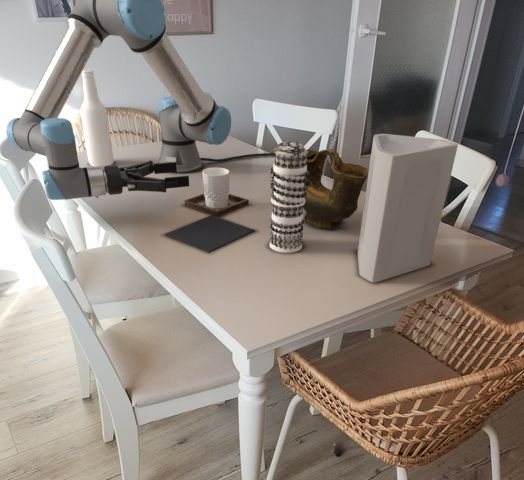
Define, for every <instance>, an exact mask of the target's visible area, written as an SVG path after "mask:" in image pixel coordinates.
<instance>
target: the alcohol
mask: <svg viewBox="0 0 524 480" xmlns="http://www.w3.org/2000/svg"><path fill="white" fill-rule="evenodd" d="M94 72H95V71H94V70H93V69H91V68H90V69H88V68H87V69H85V68H84V69H83V71H82V73H81V78H82V89H83V102H82V103H81V105H80V111H79V113H80V120H81V125H82V126H81V127H82V132H83V136H84V143H85V148H86V155H87V160H88V164H89V165H90V167H95V166H101V167H102V168H104V167H105V166H109V165H114V161H115V159H114V152H113V144H112V138H111V129H110V123H109V116H108V111H107V108H106V106H105V105H104V103H103V102H102V101H101V100H100V98H99V91H98V89H97V84H96V79H95V73H94Z"/></svg>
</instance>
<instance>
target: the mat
mask: <svg viewBox="0 0 524 480" xmlns="http://www.w3.org/2000/svg"><path fill="white" fill-rule="evenodd" d="M253 232H255V229H252V228H250V227H247V226H244V225H241V224H238V223H235V222H233V221H231V220H230V221H229V220H226V219H223V218H221V217H217V216H214V215H211V214H210V215H209V216H206V217H204V218H201V219H199V220H196V221H193V222H191V223H189V224H186V225H184V226H181V227H178V228H176V229H174V230H171V231H168V232H166V233H164V236H166V237H168V238H171V239H174V240H176V241H178V242H182V243H183V244H187V245H189V246H192V247H194V248H196V249H199V250H201V251H204V252H206V253H211V252H212V251H215V250H218V249H219V248H222V247H224V246H226V245H228V244H230V243H232V242H235V241H236V240H238V239H240V238H243V237H245V236H247V235H249V234H252V233H253Z"/></svg>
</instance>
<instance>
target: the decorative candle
mask: <svg viewBox="0 0 524 480" xmlns="http://www.w3.org/2000/svg"><path fill="white" fill-rule="evenodd" d="M307 150H308V149H306V147H305V146H304V145H303V144H302V143H301V142H297V141H282V142H280V143H279V144H278V145H277V146H276V148H274V149H273V150H272V151H273V152H272V153H275V155H274V157H273V159H274V161H273V164H272V165H273V166H272V167H270V171H269V173H270V174H271V176H270V186H269V187H270V189H271V191H270V197H271V198H270V202H271V203H272V211H271V217H270V220H269V222H270V225H269V229H270V230H269V233H268V234H269V238H268V240H269V248H270V249H272V250H273V251H275V252H278V253H282V254H283V253H284V254H286V253H287V254H289V253H295V252H298V251H300V250H301V249H302V248H303V238H304V232H303V231H304V226H303V225H305V219H304V209H303V205H304V204H305V198H304V197H306V196H307V193H306V192H304V191H305V190H307V189H308V188H307V186H306V185H304V183H306V182H308V181H309V180H308V178H307V177H305V176H307V175H309V171H308V170H307V164H306V162H307V153H308V151H307Z"/></svg>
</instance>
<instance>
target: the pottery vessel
mask: <svg viewBox="0 0 524 480" xmlns="http://www.w3.org/2000/svg"><path fill="white" fill-rule="evenodd" d="M306 150H307V151H308V153H307V162H306V164H307V170H308V171H309V175H307V176H305V177H307V178H308V180H309V181H308V182H306V183H304V185H306V186H307V188H308V189H307V190H305V191H304V192H306V193H307V196H306V197H304V198H305V204H304V205H303V211H305V216H304V222H306V223H307V224H308V225H309V226H312V227H315V228H317V229H324V230H333V229H335V228H336V227H340V226H342V222H344V220H346V219H349V218H350V217H351V216H352V215H353V214H355V212H356V211H358V210H357V209H358V203H359V198H360V195H361V192H362V189H363V187H364V184H365V182H366V181H367V179H368V173H369V169H368V168H367V167H364V166H362V165H360V164H355V163H351V162H350V163H349V162H348V163H347V162H344V161H343V160H342V158H341V156H340V154H339V152H337V150H336V149H333V148H329V149H322V150H319V151H317V150H314V149H306ZM328 157H329V159H330V170H331V171H332V176H333V180H332V181H333V182H332V188H331V189H330V188H328V187H326V186H325V185H324V184H323V182H322V178H323V177H322V176H323V169H324V165H325V162H326V160H327V158H328Z"/></svg>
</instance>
